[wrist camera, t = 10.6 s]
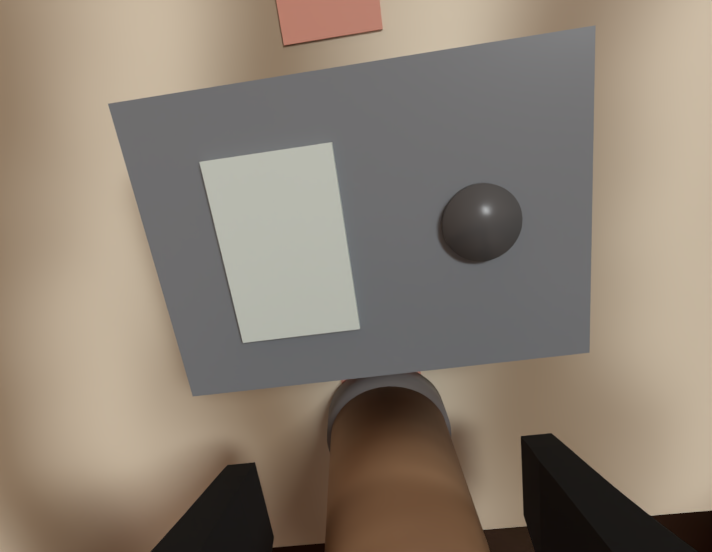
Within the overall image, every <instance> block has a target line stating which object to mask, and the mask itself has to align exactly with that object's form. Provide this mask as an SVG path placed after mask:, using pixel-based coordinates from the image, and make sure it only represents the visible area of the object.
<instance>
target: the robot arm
mask: <svg viewBox="0 0 712 552" xmlns="http://www.w3.org/2000/svg"><path fill="white" fill-rule="evenodd" d="M521 459H522V487H523V515H524V519H525V522H526V525H527V528H528V531H529V534H530V537H531V540H532V543H533V546H534V549H535V552H698V551H696V550H695V549H694V548H692V547H691V546H690V545H688V544H687V543H686V542H684V541H683V540H681V539H680V538H679V537H677V536H676V535H675V534H673V533H672V532H671V531H670V530H668V529H667V528H666V527H664V526H663V525H662V524H660V523H659V522H658V521H656V520H655V519H654V518H653V517H651V516H650V515H649V514H648V513H646V512H645V511H644V510H643V509H641V508H640V507H639V506H638V505H636V504H635V503H634V502H633V501H631V500H630V499H629V498H628V497H626V496H625V495H624V494H623V493H621V492H620V491H619V490H618V489H617V488H615V487H614V486H613V485H612V484H611V483H609V482H608V481H607V480H606V479H605V478H603V477H602V476H601V475H600V474H599V473H598V472H596V471H595V470H594V469H593V468H592V467H591V466H589V465H588V464H587V463H586V462H585V461H584V460H582V459H581V458H580V457H579V456H578V455H577V454H575V453H574V452H573V451H572V450H571V449H570V448H568V447H567V446H566V445H565V444H564V443H563V442H562V441H560V440H559V439H558V438H557V437H556V436H554V435H553V434H552V433H547V434H537V435H527V436H521ZM273 541H274V535H273V531H272V527H271V523H270V519H269V515H268V511H267V507H266V503H265V499H264V495H263V491H262V488H261V484H260V480H259V476H258V472H257V468H256V464H255V462H253V463H242V464H232V465H227V466H226V467H225V468H224V469H223V470H222V471H221V472H220V474H219V475H218V476H217V477H216V478H215V479H214V480H213V482H212V483H211V484H210V485H209V486H208V487H207V488H206V490H205V491H204V492H203V493H202V494H201V495H200V497H199V498H198V499H197V500H196V501H195V502H194V503H193V505H192V506H191V507H190V508H189V509H188V510H187V511H186V513H185V514H184V515H183V516H182V517H181V518H180V519H179V520H178V522H177V523H176V524H175V525H174V526H173V527H172V528H171V529H170V530H169V532H168V533H167V534H166V535H165V536H164V537H163V538H162V539H161V541H160V542H159V543H158V544H157V545H156V546H155V547H154V548H153V549H152V550H151V552H272V549H273Z"/></svg>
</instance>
